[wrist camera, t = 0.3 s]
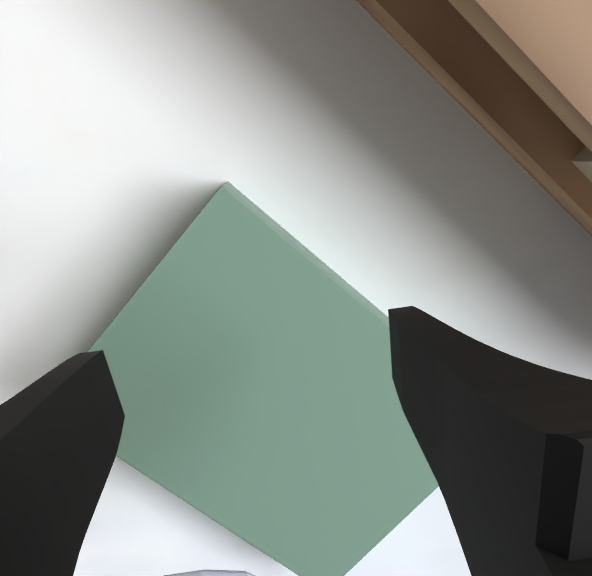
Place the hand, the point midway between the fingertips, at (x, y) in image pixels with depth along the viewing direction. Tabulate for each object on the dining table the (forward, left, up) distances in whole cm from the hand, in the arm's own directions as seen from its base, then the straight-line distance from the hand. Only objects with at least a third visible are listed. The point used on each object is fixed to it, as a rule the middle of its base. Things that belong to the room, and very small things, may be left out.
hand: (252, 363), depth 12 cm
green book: (-4, -4, -11) cm, 13 cm away
